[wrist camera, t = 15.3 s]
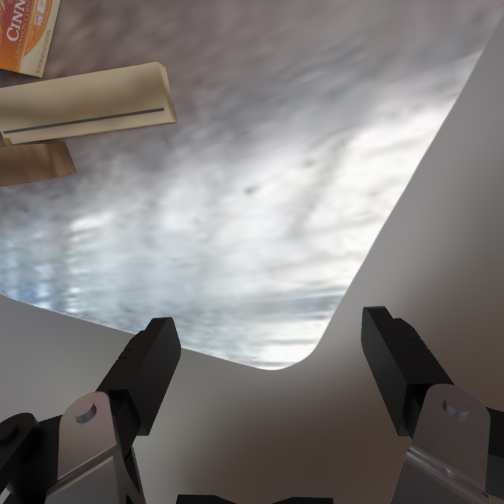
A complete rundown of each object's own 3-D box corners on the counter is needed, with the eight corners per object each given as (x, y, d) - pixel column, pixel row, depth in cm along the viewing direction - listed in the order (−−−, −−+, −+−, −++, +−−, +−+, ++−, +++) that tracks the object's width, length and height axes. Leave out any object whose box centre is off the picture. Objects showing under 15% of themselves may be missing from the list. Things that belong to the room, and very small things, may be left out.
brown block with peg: (35, 139, 36) (-24, 141, 29) (62, 135, 36) (8, 136, 28) (51, 176, 38) (-1, 186, 31) (76, 172, 38) (29, 182, 30)
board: (1, 93, 34) (-19, 91, 32) (165, 66, 31) (156, 61, 29) (23, 144, 36) (6, 144, 34) (177, 122, 34) (169, 121, 32)
